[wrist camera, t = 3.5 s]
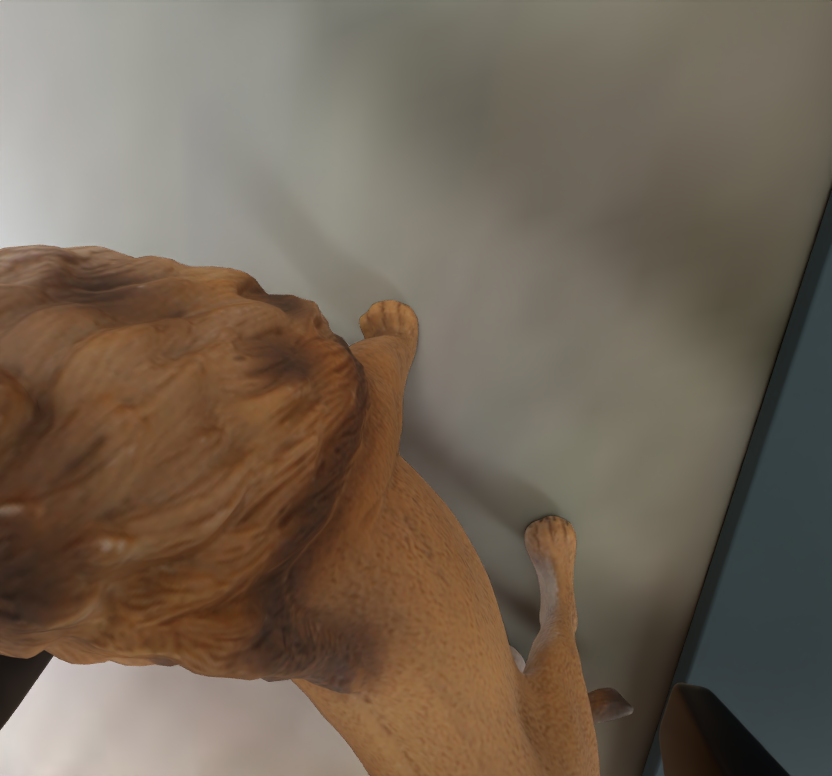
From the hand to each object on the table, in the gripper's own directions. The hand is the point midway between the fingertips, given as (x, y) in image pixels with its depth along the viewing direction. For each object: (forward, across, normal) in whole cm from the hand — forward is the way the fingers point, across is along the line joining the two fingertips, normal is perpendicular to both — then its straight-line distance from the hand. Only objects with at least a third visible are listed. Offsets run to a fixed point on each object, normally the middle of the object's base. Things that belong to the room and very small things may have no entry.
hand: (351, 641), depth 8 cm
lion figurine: (+5, 0, 0) cm, 5 cm away
